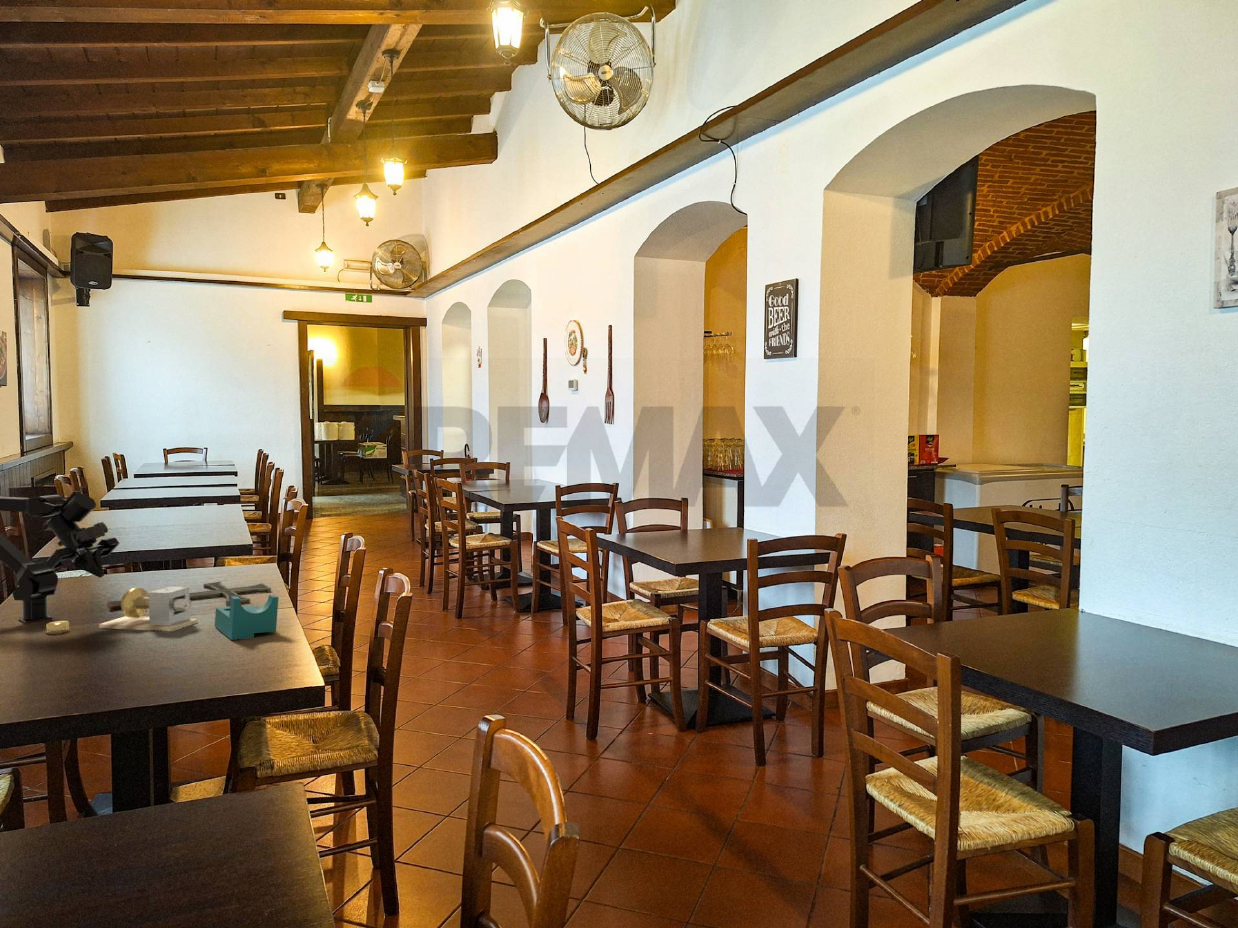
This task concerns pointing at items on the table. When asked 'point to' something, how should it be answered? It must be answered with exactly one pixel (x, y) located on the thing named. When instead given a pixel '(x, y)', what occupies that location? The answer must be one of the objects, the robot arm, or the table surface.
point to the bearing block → (167, 606)
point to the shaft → (146, 603)
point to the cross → (214, 593)
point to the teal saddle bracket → (246, 618)
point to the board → (142, 624)
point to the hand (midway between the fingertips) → (102, 576)
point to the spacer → (57, 627)
